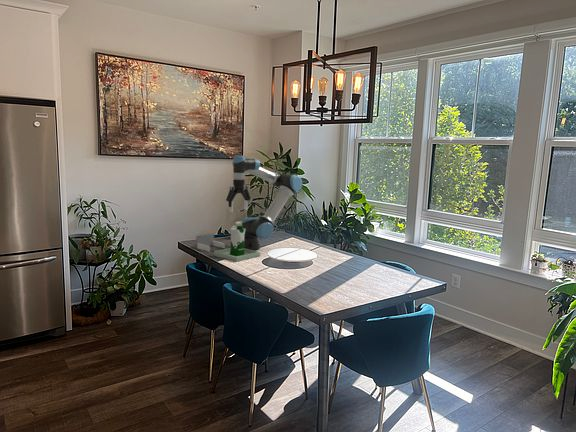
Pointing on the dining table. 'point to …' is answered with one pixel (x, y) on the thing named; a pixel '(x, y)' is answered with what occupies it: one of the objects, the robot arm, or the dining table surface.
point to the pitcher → (237, 224)
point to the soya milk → (237, 241)
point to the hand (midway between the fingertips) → (238, 210)
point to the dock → (207, 242)
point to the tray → (247, 255)
